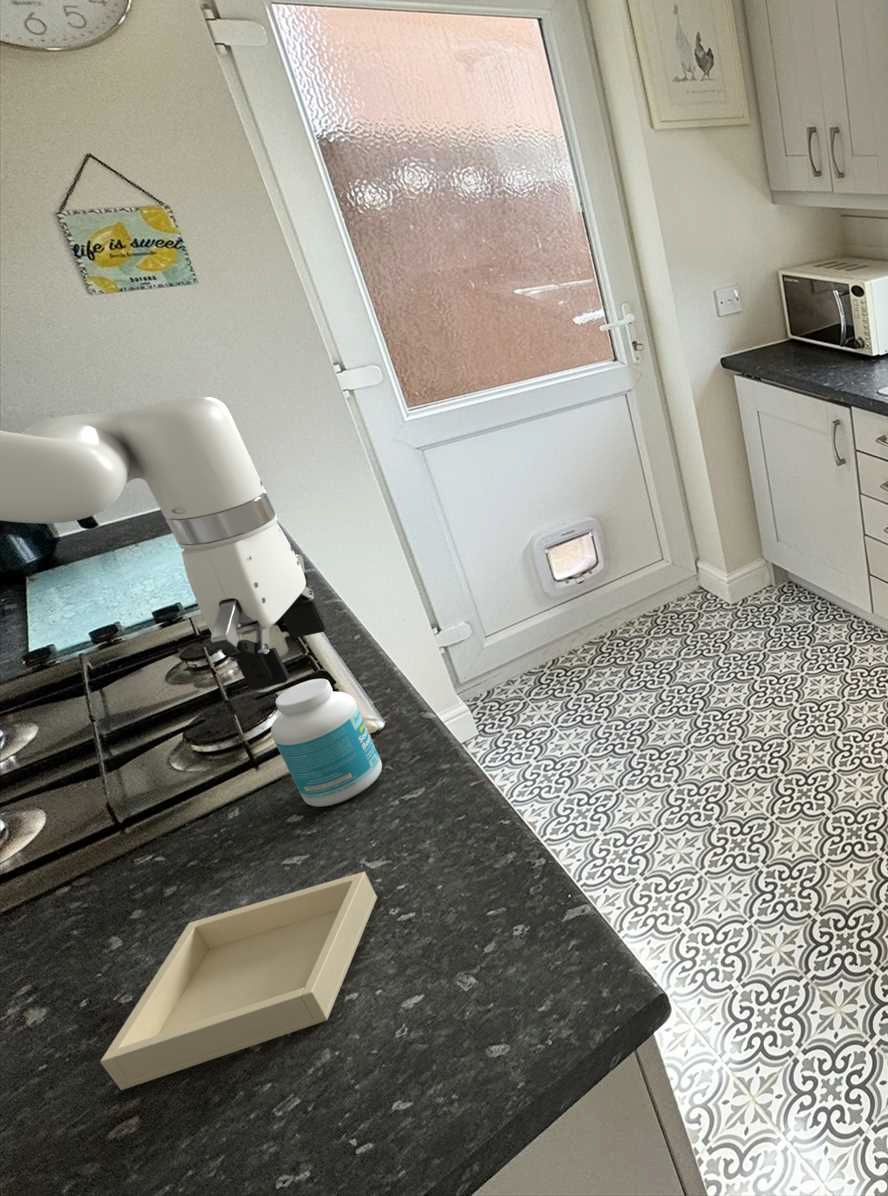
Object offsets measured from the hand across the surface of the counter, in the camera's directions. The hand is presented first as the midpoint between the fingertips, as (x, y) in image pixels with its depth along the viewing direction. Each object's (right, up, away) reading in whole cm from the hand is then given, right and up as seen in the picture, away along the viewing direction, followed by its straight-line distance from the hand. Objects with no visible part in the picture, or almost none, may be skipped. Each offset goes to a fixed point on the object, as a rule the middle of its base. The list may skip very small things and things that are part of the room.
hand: (291, 657), depth 85 cm
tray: (+12, -25, -16) cm, 32 cm away
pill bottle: (+1, -17, +6) cm, 18 cm away
